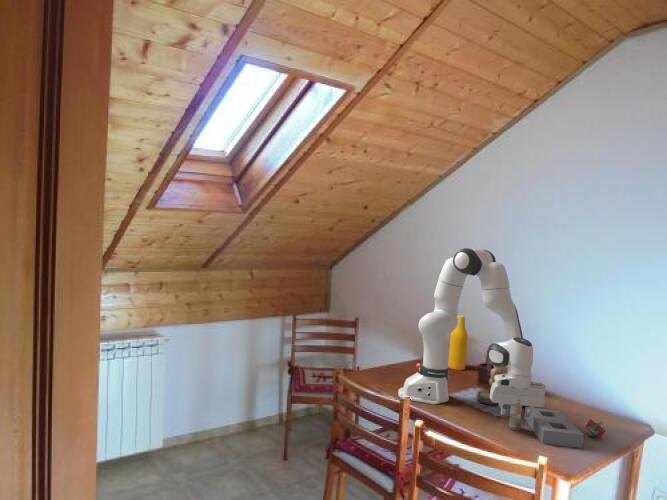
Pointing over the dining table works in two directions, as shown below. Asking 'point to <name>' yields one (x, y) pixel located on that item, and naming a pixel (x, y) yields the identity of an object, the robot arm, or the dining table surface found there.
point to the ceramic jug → (497, 373)
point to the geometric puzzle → (595, 428)
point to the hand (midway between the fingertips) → (515, 415)
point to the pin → (515, 416)
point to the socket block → (554, 428)
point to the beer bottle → (458, 345)
